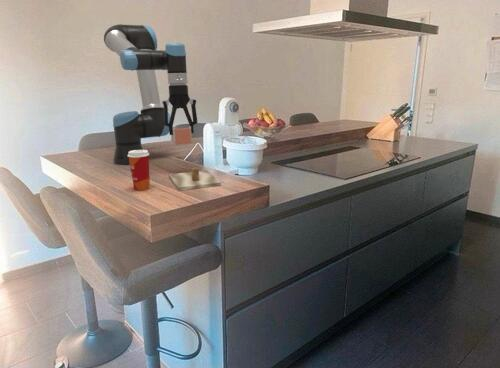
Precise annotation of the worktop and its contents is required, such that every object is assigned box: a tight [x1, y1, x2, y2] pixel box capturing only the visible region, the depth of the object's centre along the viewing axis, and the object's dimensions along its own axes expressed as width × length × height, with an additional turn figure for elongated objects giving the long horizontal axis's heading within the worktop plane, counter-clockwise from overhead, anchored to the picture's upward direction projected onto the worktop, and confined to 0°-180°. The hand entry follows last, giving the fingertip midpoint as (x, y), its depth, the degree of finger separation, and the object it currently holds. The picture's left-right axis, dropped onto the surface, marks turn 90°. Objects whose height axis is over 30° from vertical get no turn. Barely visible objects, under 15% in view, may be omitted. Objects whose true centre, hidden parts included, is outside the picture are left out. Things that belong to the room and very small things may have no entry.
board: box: [168, 167, 222, 192], centre depth 146 cm, size 16×20×6 cm
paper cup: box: [128, 149, 151, 191], centre depth 137 cm, size 8×8×14 cm
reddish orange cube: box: [174, 126, 192, 145], centre depth 154 cm, size 6×6×6 cm
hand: (182, 142), depth 155 cm, fingers closed on reddish orange cube, 6 cm apart
